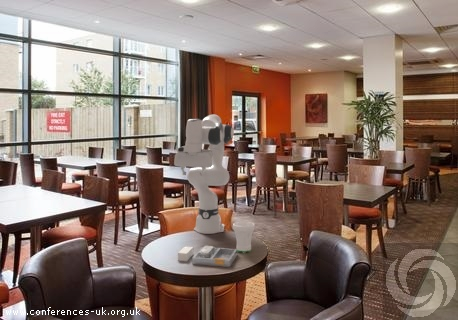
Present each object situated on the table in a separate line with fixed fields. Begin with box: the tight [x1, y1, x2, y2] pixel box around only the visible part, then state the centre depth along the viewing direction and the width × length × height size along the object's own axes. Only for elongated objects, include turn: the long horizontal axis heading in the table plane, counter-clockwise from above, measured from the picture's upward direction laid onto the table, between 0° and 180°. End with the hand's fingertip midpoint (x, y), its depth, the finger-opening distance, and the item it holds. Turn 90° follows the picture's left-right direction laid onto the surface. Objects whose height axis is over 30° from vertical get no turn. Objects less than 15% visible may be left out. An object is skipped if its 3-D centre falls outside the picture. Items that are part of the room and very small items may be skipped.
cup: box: [232, 221, 256, 254], centre depth 206 cm, size 11×11×14 cm
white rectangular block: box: [177, 246, 194, 262], centre depth 197 cm, size 10×4×4 cm, turn 167°
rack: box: [191, 245, 238, 268], centre depth 194 cm, size 17×18×5 cm
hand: (192, 175), depth 211 cm, fingers open, 8 cm apart
